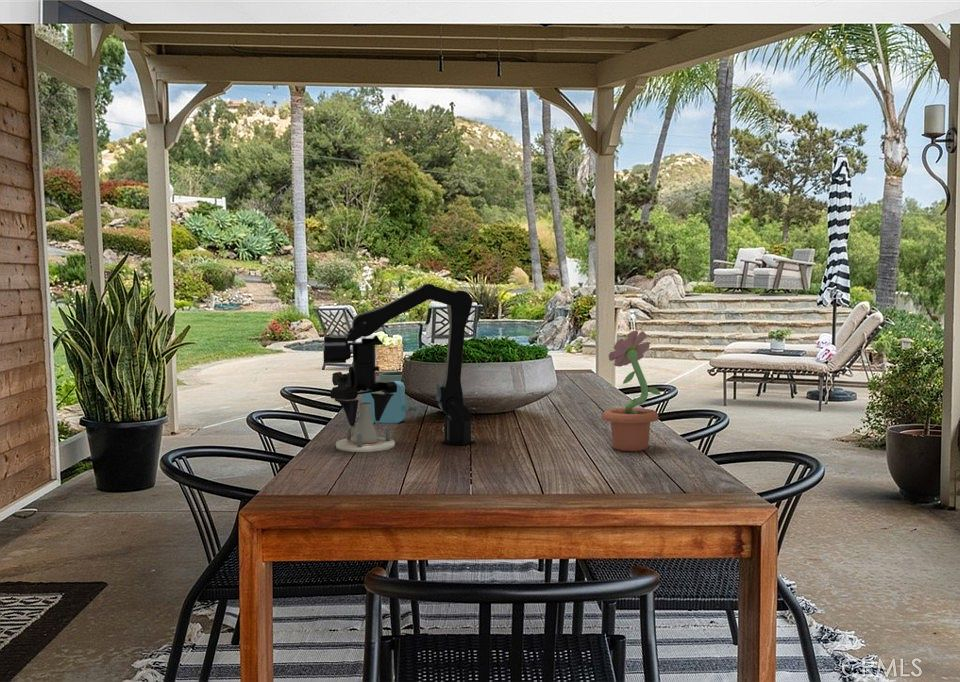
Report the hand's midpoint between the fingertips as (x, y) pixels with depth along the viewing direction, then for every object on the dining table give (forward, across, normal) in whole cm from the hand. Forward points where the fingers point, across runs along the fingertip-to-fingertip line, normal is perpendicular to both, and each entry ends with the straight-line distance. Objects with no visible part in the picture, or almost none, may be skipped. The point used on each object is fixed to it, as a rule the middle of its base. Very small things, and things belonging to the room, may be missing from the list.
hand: (364, 423), depth 233 cm
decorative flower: (+6, -38, +56) cm, 68 cm away
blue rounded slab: (+6, -30, -22) cm, 38 cm away
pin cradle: (+6, 0, 0) cm, 6 cm away
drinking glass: (+6, -48, -34) cm, 59 cm away
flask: (+5, 0, 0) cm, 5 cm away
